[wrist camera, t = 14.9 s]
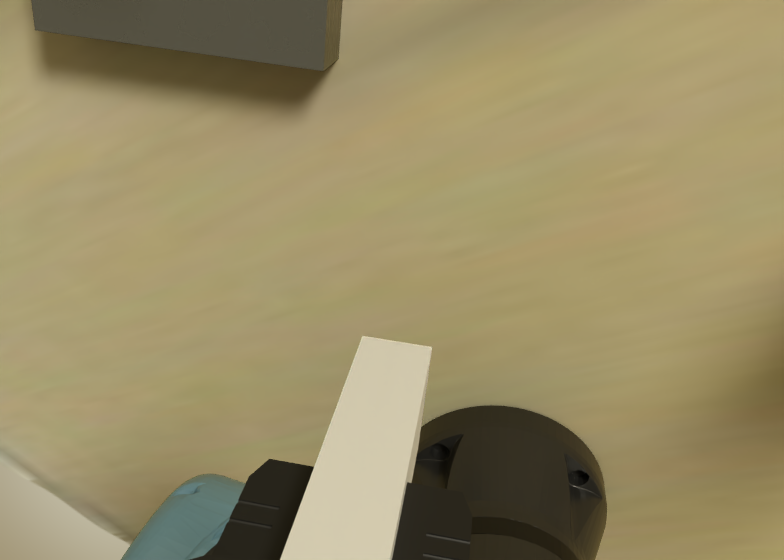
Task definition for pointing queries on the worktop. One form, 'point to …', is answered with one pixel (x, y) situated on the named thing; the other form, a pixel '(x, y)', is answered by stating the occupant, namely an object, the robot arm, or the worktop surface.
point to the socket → (207, 26)
